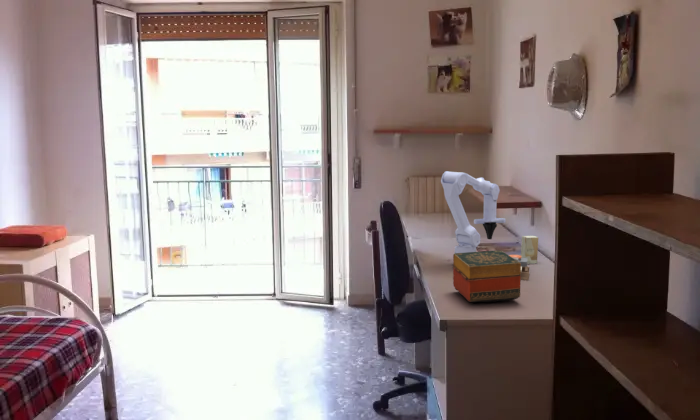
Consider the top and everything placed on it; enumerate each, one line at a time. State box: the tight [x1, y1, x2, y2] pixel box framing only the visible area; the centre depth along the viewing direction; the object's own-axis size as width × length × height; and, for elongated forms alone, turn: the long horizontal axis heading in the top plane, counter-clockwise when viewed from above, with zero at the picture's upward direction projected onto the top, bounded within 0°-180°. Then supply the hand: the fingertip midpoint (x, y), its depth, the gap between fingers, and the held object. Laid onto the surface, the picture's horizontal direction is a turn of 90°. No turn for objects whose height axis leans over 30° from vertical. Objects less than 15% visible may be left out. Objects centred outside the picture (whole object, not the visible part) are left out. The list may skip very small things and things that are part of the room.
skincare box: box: [520, 235, 539, 265], centre depth 275 cm, size 6×4×12 cm
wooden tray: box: [520, 265, 530, 281], centre depth 253 cm, size 21×11×4 cm, turn 73°
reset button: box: [508, 254, 522, 261], centre depth 261 cm, size 5×5×5 cm
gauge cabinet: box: [518, 258, 528, 267], centre depth 261 cm, size 10×8×5 cm
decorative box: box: [452, 249, 522, 303], centre depth 219 cm, size 20×22×16 cm
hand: (489, 238), depth 279 cm, fingers closed
